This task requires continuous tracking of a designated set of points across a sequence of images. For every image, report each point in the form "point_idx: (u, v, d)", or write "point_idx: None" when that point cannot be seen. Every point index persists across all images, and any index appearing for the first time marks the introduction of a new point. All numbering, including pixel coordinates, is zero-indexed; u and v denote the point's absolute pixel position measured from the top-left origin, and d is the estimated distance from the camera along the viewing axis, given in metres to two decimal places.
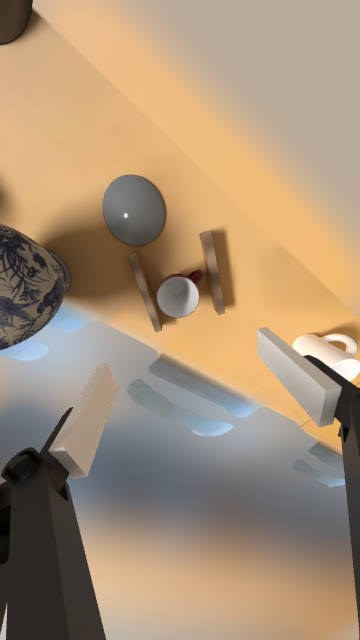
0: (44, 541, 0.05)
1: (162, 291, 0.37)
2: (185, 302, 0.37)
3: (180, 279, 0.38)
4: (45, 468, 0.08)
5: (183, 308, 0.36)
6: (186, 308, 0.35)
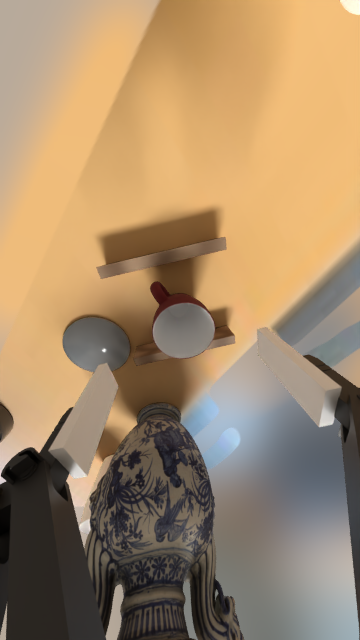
0: (44, 541, 0.05)
1: (180, 331, 0.28)
2: (197, 304, 0.26)
3: None
4: (45, 468, 0.08)
5: (204, 313, 0.24)
6: (204, 310, 0.23)
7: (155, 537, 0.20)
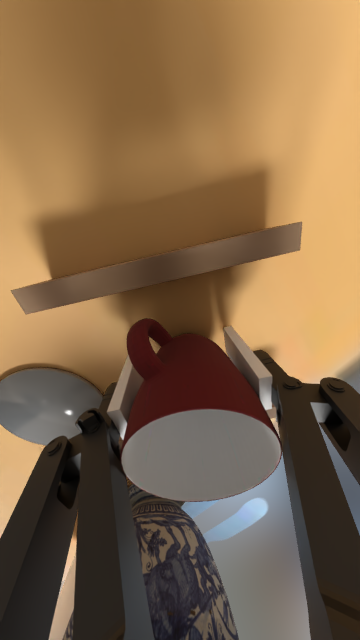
0: (104, 492, 0.06)
1: None
2: None
3: None
4: (105, 428, 0.09)
5: None
6: None
7: None
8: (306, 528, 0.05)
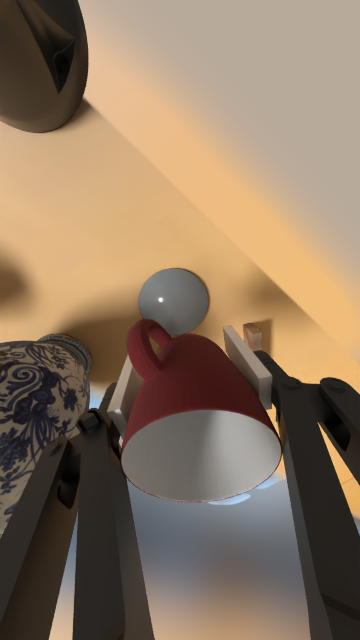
0: (104, 491, 0.06)
1: None
2: None
3: None
4: (106, 428, 0.09)
5: None
6: None
7: (10, 505, 0.14)
8: (306, 528, 0.05)
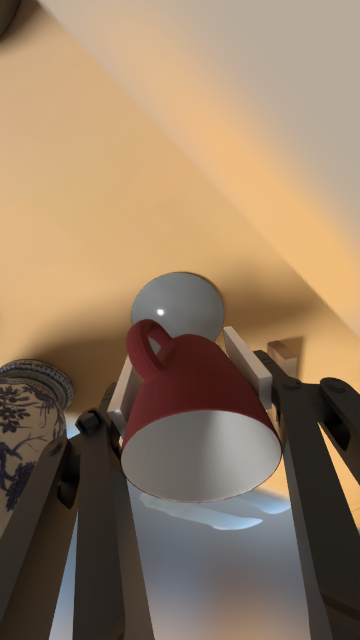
0: (104, 491, 0.06)
1: None
2: None
3: None
4: (106, 428, 0.09)
5: None
6: None
7: None
8: (306, 528, 0.05)
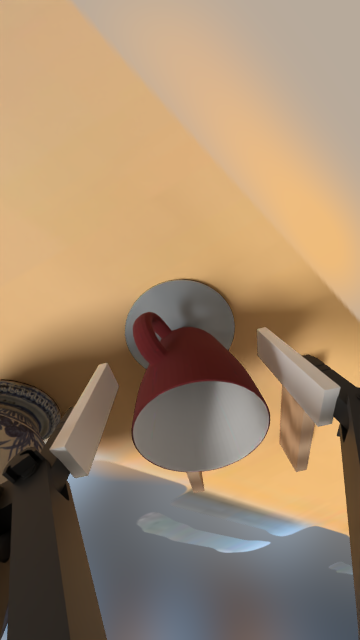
0: (45, 540, 0.05)
1: (189, 390, 0.16)
2: None
3: None
4: (46, 467, 0.08)
5: None
6: None
7: None
8: None
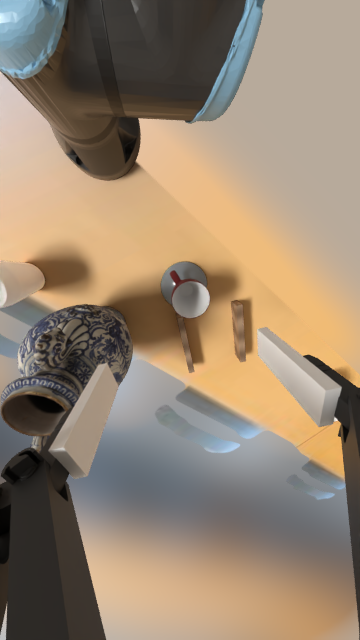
0: (44, 541, 0.05)
1: (187, 305, 0.41)
2: (199, 286, 0.39)
3: (179, 286, 0.42)
4: (45, 468, 0.08)
5: (203, 290, 0.38)
6: (203, 288, 0.37)
7: None
8: None
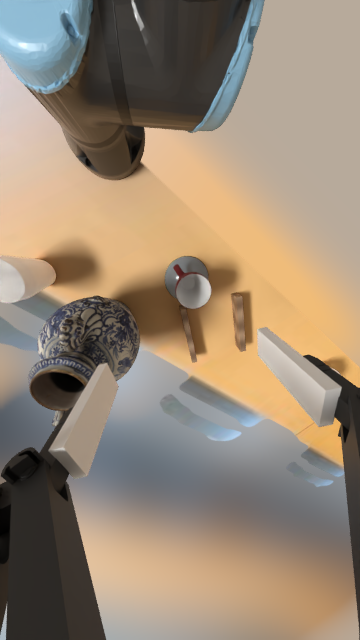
0: (44, 541, 0.05)
1: (190, 297, 0.44)
2: (201, 279, 0.41)
3: (182, 279, 0.44)
4: (45, 468, 0.08)
5: (205, 283, 0.40)
6: (205, 281, 0.39)
7: (120, 360, 0.31)
8: None
